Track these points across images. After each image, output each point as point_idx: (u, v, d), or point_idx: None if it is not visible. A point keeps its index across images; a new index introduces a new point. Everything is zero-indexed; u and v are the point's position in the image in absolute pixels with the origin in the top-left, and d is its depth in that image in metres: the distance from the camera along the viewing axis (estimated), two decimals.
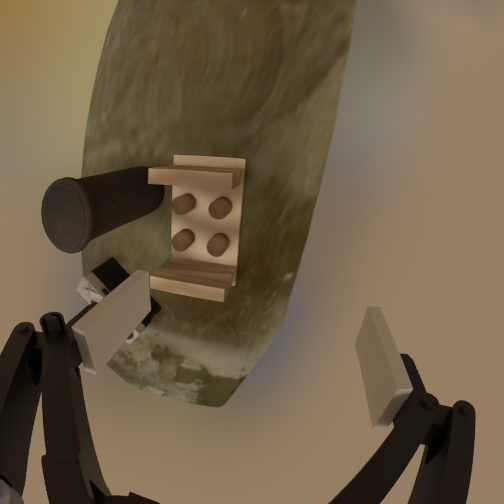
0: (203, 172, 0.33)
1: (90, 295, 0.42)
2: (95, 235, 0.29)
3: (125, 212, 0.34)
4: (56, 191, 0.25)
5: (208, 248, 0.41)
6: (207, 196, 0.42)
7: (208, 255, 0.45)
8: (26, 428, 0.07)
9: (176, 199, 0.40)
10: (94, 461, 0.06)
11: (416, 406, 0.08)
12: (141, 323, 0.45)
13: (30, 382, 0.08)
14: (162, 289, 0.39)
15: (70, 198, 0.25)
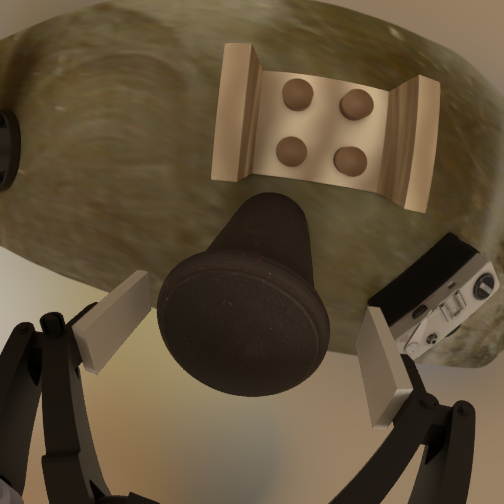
0: (222, 83, 0.18)
1: (419, 342, 0.23)
2: (301, 273, 0.14)
3: (279, 223, 0.19)
4: (176, 340, 0.13)
5: (361, 113, 0.22)
6: (282, 121, 0.26)
7: (375, 130, 0.25)
8: (27, 428, 0.07)
9: (280, 157, 0.24)
10: (94, 461, 0.06)
11: (416, 406, 0.08)
12: (473, 257, 0.22)
13: (30, 382, 0.08)
14: (427, 189, 0.19)
15: (189, 303, 0.12)
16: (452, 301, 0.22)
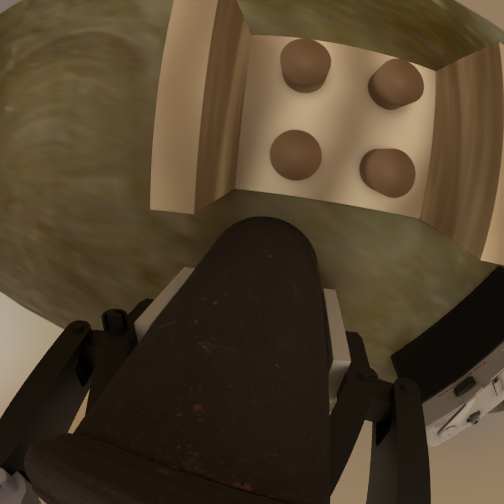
0: (169, 38, 0.09)
1: (458, 424, 0.13)
2: (307, 469, 0.05)
3: (268, 304, 0.10)
4: None
5: (406, 97, 0.12)
6: (281, 107, 0.16)
7: (419, 125, 0.15)
8: (62, 428, 0.07)
9: (277, 165, 0.15)
10: None
11: (354, 380, 0.10)
12: None
13: (76, 383, 0.09)
14: None
15: None
16: None
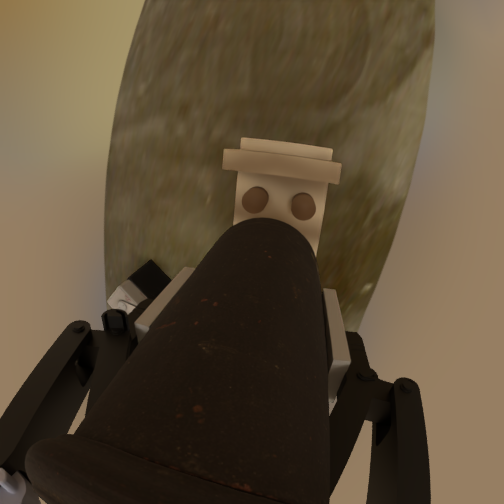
0: (303, 159, 0.25)
1: (127, 310, 0.33)
2: (307, 469, 0.05)
3: (268, 305, 0.10)
4: None
5: None
6: (283, 190, 0.34)
7: None
8: (62, 428, 0.07)
9: (248, 193, 0.32)
10: None
11: (354, 380, 0.10)
12: None
13: (76, 383, 0.09)
14: None
15: None
16: None
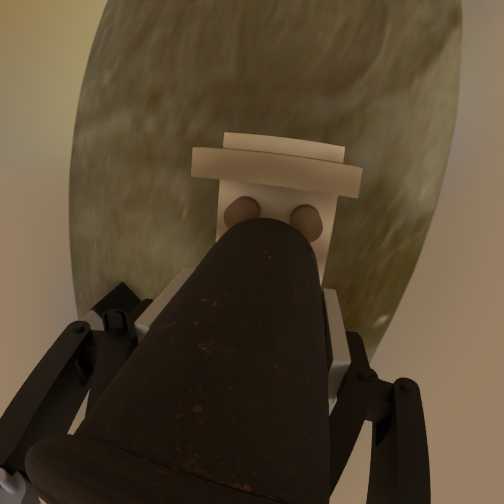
0: (307, 161, 0.17)
1: None
2: (307, 469, 0.05)
3: (268, 306, 0.10)
4: None
5: None
6: (279, 202, 0.26)
7: None
8: (62, 428, 0.07)
9: (232, 206, 0.24)
10: None
11: (354, 380, 0.10)
12: None
13: (76, 383, 0.09)
14: None
15: None
16: None
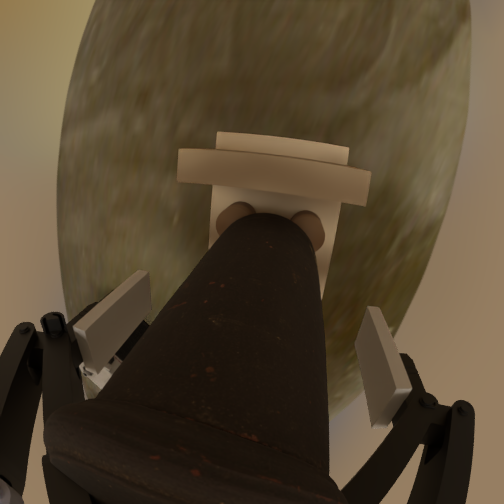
0: (309, 163, 0.15)
1: None
2: (307, 429, 0.06)
3: (270, 287, 0.11)
4: None
5: None
6: (277, 208, 0.24)
7: None
8: (27, 428, 0.07)
9: (225, 213, 0.22)
10: None
11: (415, 406, 0.08)
12: None
13: (31, 382, 0.08)
14: None
15: (81, 484, 0.04)
16: None
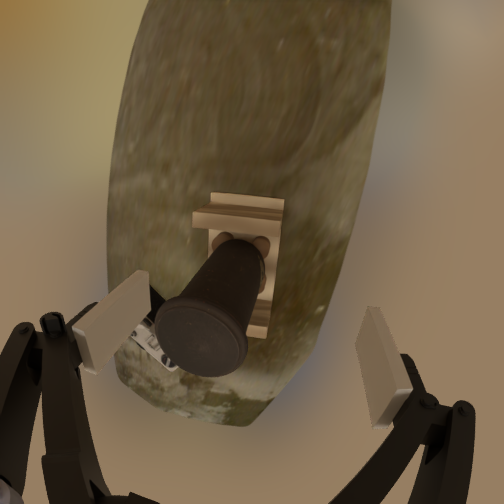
0: (251, 219, 0.35)
1: None
2: (233, 306, 0.25)
3: (229, 271, 0.30)
4: (165, 342, 0.24)
5: None
6: (245, 234, 0.44)
7: None
8: (27, 428, 0.07)
9: (216, 239, 0.41)
10: (94, 461, 0.06)
11: (416, 406, 0.08)
12: None
13: (30, 382, 0.08)
14: None
15: (170, 322, 0.23)
16: (156, 341, 0.43)
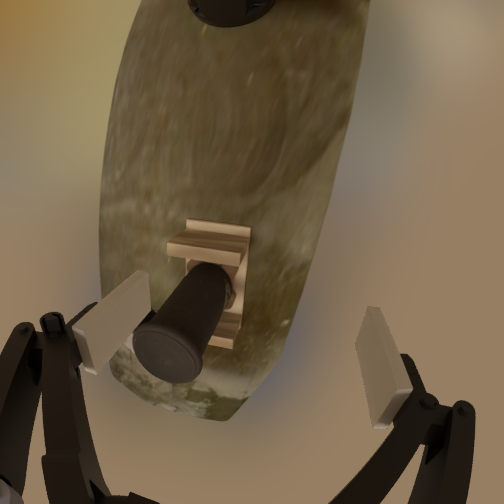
0: (215, 250, 0.40)
1: None
2: (191, 330, 0.31)
3: (193, 298, 0.36)
4: (140, 355, 0.30)
5: None
6: None
7: None
8: (27, 428, 0.07)
9: (190, 262, 0.47)
10: (94, 461, 0.06)
11: (416, 406, 0.08)
12: None
13: (30, 382, 0.08)
14: None
15: (143, 342, 0.29)
16: None
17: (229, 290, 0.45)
